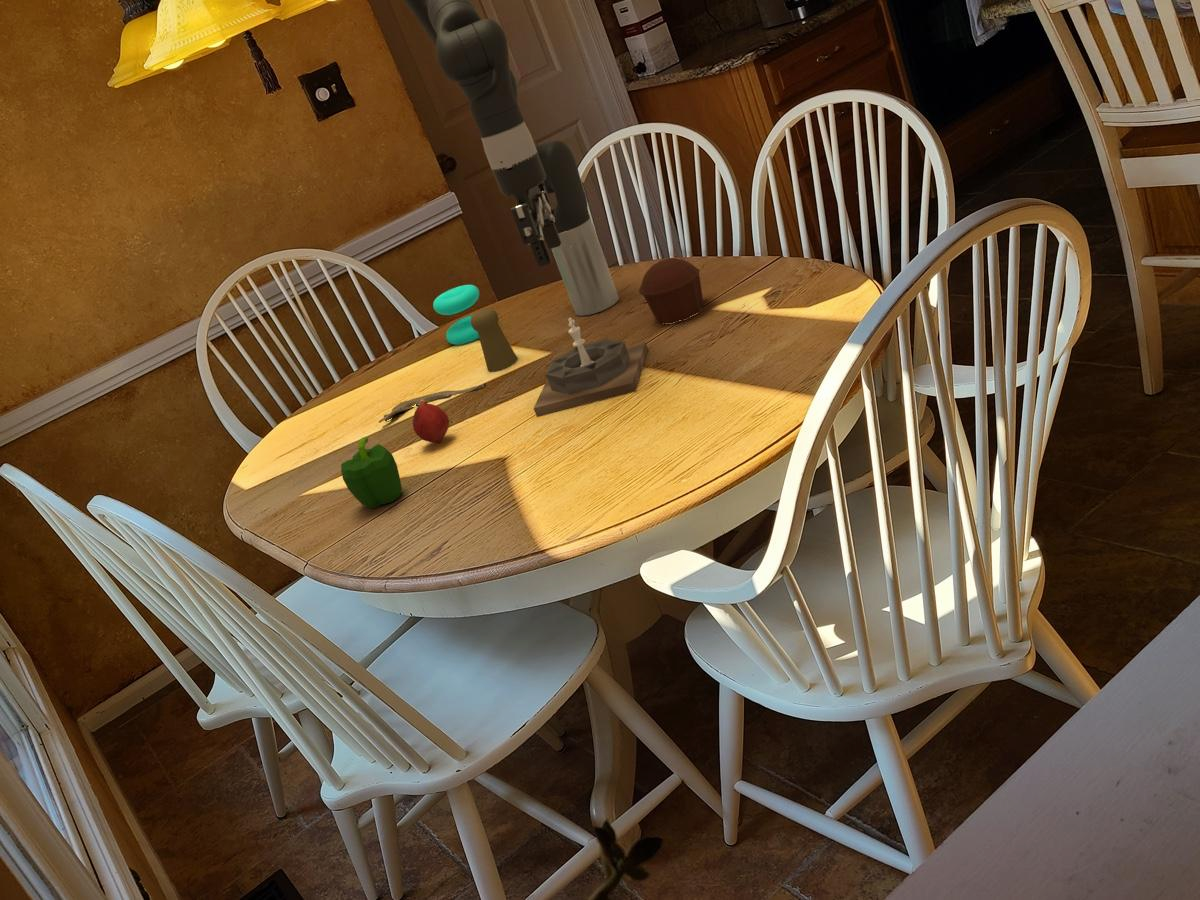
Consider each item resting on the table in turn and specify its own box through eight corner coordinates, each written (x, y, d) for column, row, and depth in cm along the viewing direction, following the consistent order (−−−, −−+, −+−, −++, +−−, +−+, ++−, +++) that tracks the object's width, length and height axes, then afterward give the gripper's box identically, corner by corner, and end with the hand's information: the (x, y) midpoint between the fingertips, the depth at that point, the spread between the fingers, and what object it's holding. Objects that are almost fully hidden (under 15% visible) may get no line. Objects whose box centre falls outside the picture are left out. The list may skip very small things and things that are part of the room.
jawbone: (383, 417, 209) (379, 407, 208) (485, 378, 210) (481, 368, 209) (382, 430, 200) (378, 419, 200) (488, 389, 201) (484, 379, 201)
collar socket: (556, 373, 195) (547, 350, 193) (647, 349, 190) (639, 325, 188) (536, 416, 180) (526, 392, 178) (635, 391, 175) (626, 365, 173)
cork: (519, 353, 211) (498, 301, 207) (515, 366, 206) (493, 312, 202) (490, 362, 213) (469, 310, 208) (485, 375, 207) (462, 321, 203)
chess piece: (572, 382, 183) (551, 327, 179) (582, 368, 187) (561, 315, 183) (598, 377, 181) (578, 321, 177) (608, 363, 185) (588, 309, 181)
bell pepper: (387, 514, 165) (359, 457, 161) (349, 514, 170) (321, 459, 166) (421, 484, 171) (395, 428, 167) (384, 485, 176) (357, 430, 172)
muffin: (653, 311, 207) (636, 261, 203) (710, 294, 204) (694, 244, 200) (648, 334, 196) (630, 282, 192) (708, 317, 194) (691, 264, 190)
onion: (429, 454, 181) (410, 412, 178) (418, 446, 186) (399, 405, 183) (460, 438, 183) (441, 395, 180) (449, 430, 188) (430, 389, 185)
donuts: (485, 282, 228) (448, 303, 223) (503, 326, 232) (466, 348, 227) (458, 282, 235) (422, 303, 230) (476, 325, 239) (440, 346, 234)
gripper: (501, 154, 177) (537, 248, 184) (480, 177, 165) (519, 277, 172) (544, 139, 175) (579, 235, 182) (526, 162, 163) (564, 263, 170)
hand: (550, 255), depth 177 cm, fingers open, 8 cm apart
